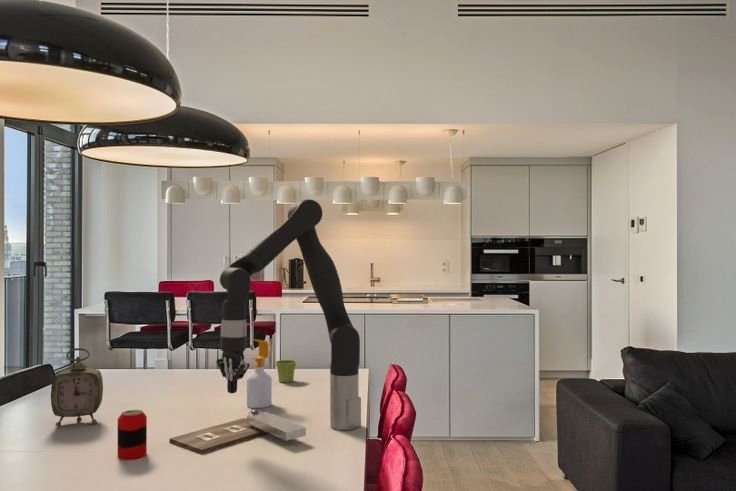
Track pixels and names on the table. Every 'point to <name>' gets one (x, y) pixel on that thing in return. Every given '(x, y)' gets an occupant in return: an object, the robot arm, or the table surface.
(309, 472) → the table surface
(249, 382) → the soap bottle
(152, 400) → the table surface
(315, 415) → the table surface
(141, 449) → the soda can
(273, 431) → the swing arm
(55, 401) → the tabletop clock
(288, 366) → the plant pot
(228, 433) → the label panel
